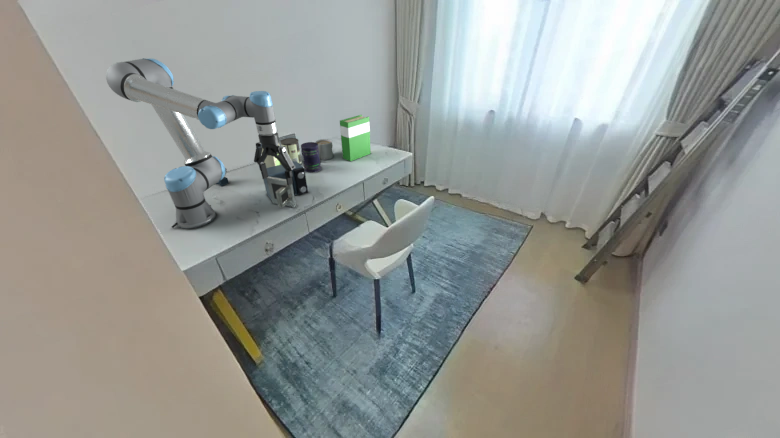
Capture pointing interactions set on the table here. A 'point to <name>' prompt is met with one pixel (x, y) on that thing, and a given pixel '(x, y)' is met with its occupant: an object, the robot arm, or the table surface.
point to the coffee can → (292, 149)
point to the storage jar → (311, 157)
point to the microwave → (298, 178)
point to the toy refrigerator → (271, 161)
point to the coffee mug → (325, 149)
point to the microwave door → (281, 192)
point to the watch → (223, 180)
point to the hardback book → (355, 137)
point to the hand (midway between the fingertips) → (277, 181)
